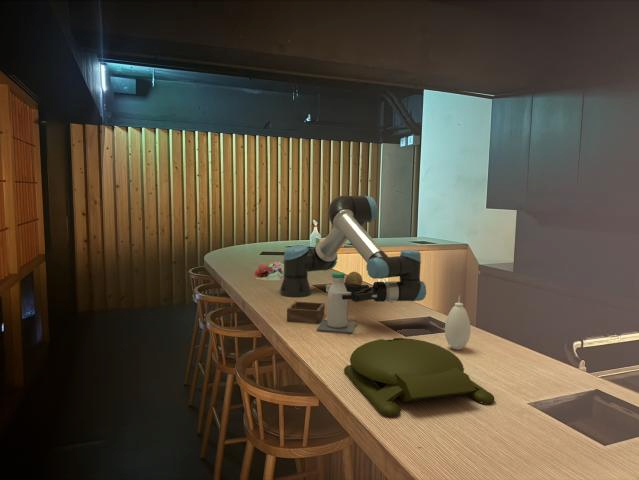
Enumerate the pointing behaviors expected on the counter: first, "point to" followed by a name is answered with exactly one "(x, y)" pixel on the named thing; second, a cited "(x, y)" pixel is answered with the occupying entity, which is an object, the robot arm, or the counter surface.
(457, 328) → the grey air blower bulb
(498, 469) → the counter surface
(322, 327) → the slate tile
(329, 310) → the milk bottle
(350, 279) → the natural sponge
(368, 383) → the spaceship
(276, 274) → the candy landscape model
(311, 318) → the walnut caddy
